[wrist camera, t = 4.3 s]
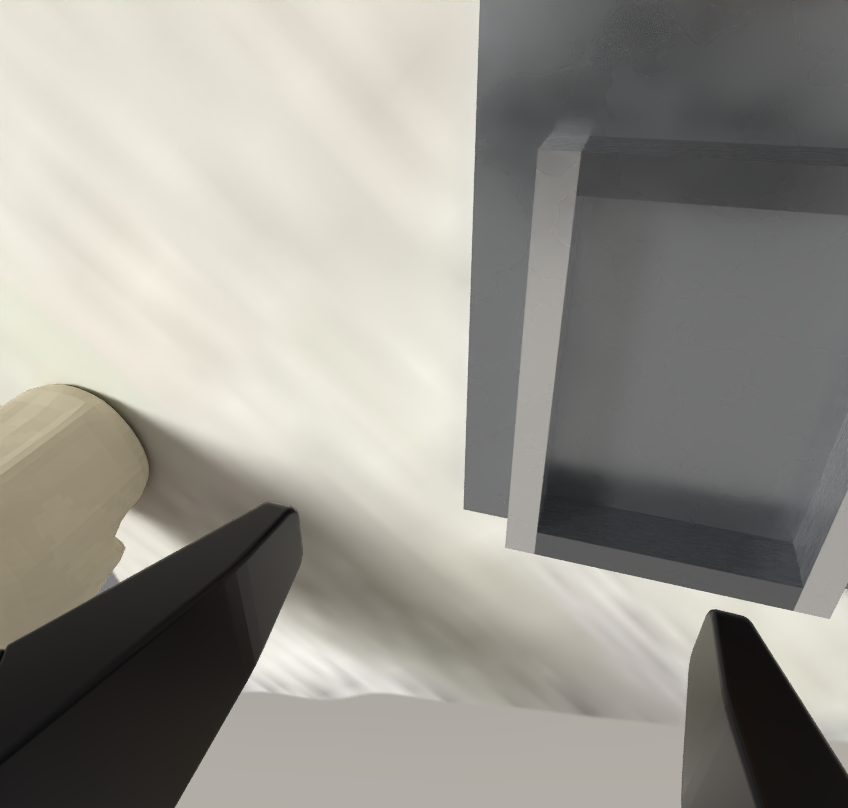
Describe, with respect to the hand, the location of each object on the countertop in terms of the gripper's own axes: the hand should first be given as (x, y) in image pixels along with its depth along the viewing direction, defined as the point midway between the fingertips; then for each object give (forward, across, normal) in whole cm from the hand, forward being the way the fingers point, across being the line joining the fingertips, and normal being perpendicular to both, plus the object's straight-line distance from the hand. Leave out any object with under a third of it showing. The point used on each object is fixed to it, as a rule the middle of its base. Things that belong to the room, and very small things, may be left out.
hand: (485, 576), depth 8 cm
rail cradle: (+13, -4, 0) cm, 14 cm away
